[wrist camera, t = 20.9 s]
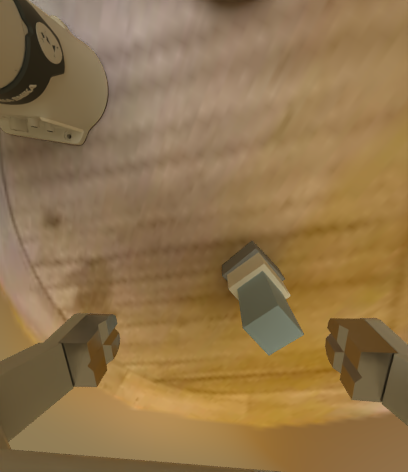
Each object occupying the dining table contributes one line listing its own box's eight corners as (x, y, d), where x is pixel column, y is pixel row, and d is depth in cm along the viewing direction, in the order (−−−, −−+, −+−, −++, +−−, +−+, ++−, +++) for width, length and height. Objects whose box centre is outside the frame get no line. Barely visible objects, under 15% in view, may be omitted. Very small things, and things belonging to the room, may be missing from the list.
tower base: (247, 290, 44) (250, 304, 39) (222, 265, 43) (222, 275, 38) (277, 267, 42) (285, 279, 37) (251, 239, 41) (255, 248, 36)
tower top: (250, 301, 39) (254, 318, 34) (227, 274, 38) (228, 288, 33) (282, 280, 38) (290, 295, 33) (258, 252, 37) (264, 263, 32)
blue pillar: (256, 310, 34) (268, 355, 25) (237, 288, 33) (242, 328, 25) (282, 293, 33) (304, 334, 24) (262, 270, 32) (278, 305, 23)
